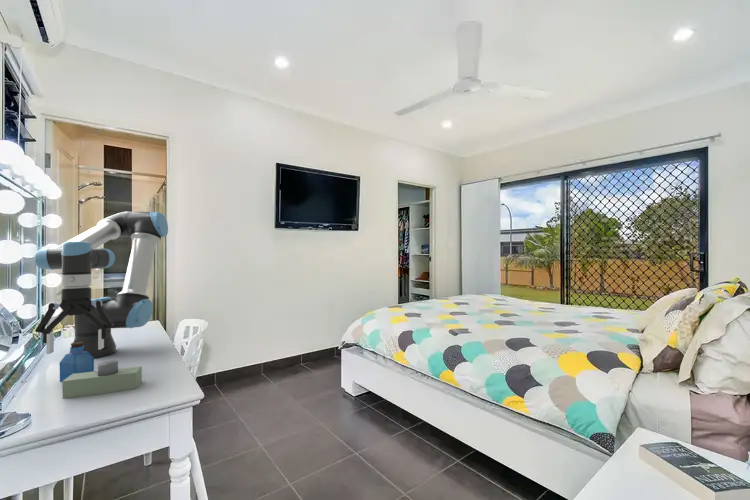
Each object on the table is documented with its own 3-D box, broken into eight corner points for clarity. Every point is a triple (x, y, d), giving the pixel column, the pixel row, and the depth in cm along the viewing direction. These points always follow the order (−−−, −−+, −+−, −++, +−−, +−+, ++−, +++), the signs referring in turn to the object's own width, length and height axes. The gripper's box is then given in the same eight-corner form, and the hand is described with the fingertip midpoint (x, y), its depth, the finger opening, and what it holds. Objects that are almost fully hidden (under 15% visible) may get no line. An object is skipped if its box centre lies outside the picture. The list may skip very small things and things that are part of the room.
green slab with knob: (84, 380, 113) (84, 356, 113) (148, 372, 119) (148, 350, 120) (62, 398, 99) (62, 370, 99) (136, 388, 106) (135, 362, 106)
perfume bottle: (74, 382, 111) (74, 345, 111) (59, 381, 112) (59, 345, 112) (94, 376, 117) (93, 341, 117) (79, 374, 118) (79, 340, 118)
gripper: (21, 289, 107) (20, 358, 106) (117, 286, 116) (117, 349, 115) (34, 287, 114) (34, 352, 113) (124, 284, 123) (124, 344, 122)
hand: (76, 350), depth 114 cm, fingers open, 13 cm apart
